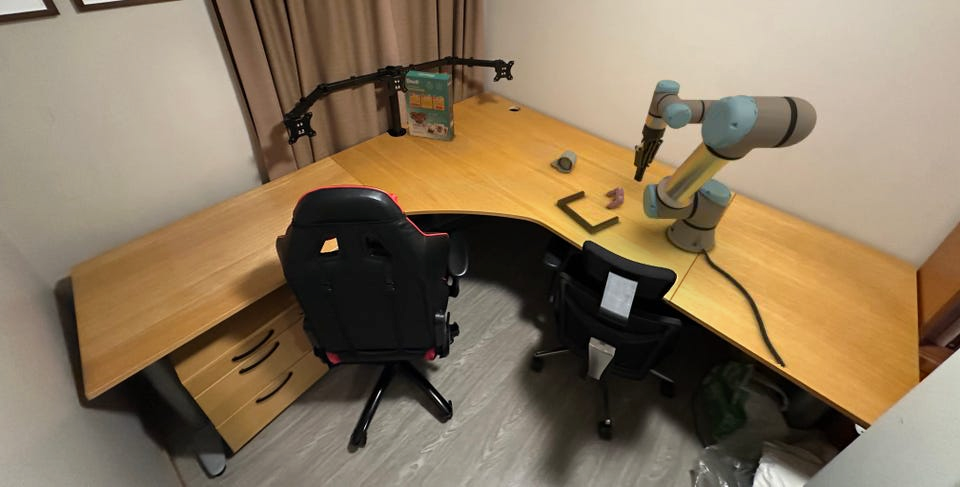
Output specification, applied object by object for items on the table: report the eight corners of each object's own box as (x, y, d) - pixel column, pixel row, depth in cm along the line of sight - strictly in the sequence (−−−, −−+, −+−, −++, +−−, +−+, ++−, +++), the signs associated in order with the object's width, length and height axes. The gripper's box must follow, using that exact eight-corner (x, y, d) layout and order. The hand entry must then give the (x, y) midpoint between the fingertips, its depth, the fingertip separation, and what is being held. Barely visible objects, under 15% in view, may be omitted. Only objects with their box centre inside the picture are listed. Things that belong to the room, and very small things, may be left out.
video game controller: (615, 213, 157) (627, 201, 153) (606, 207, 156) (618, 195, 152) (614, 198, 164) (626, 187, 160) (605, 193, 164) (616, 181, 159)
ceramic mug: (577, 165, 180) (579, 150, 175) (571, 174, 175) (573, 159, 170) (554, 160, 184) (556, 145, 179) (548, 168, 179) (550, 153, 173)
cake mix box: (454, 135, 202) (451, 75, 181) (450, 140, 197) (447, 79, 177) (414, 129, 206) (407, 70, 186) (410, 134, 202) (402, 74, 182)
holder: (617, 222, 150) (619, 217, 149) (591, 234, 145) (592, 229, 144) (581, 195, 163) (583, 190, 162) (556, 205, 158) (557, 200, 157)
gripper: (659, 117, 148) (641, 171, 164) (634, 125, 143) (618, 180, 159) (676, 125, 143) (656, 180, 159) (650, 133, 138) (632, 189, 154)
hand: (637, 180), depth 159 cm, fingers closed
